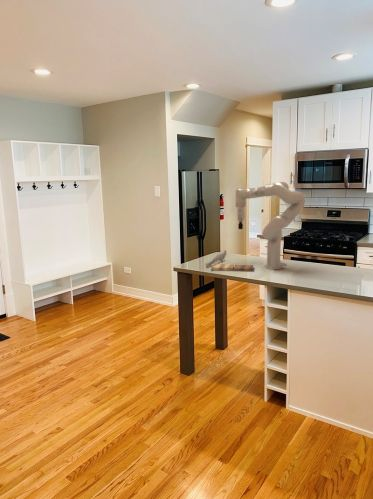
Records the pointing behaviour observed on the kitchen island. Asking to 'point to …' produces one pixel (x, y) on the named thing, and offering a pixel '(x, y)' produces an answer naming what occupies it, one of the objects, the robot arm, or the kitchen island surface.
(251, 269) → the walnut plank
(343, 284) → the kitchen island surface
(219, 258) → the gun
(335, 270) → the kitchen island surface
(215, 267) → the beige irregular flat piece
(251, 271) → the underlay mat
